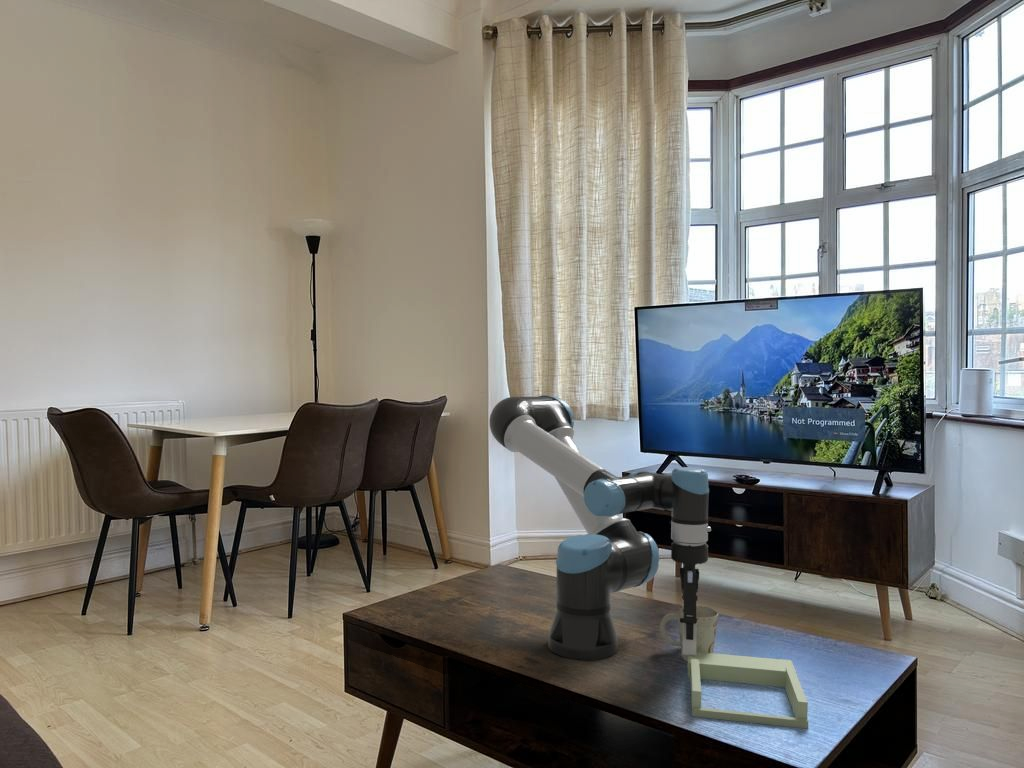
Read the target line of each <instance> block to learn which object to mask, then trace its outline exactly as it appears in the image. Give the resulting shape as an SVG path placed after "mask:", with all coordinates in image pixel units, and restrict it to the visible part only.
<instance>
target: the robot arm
mask: <svg viewBox="0 0 1024 768" xmlns="http://www.w3.org/2000/svg"><path fill="white" fill-rule="evenodd" d="M573 419H574V413H573V411H572V408H571V407H570V405H569V404H568V403H567V402H566V401H565V400H564V399H562V398H561V397H557V396H551V395H547V394H546V395H539V396H509V397H505V398H504V399H502V400H500V401H499V402H497V404H496V405H495V406H494V407H493V408H492V411H491V413H490V416H489V429H490V432H491V434H492V436H493V438H494V439H495V441H497V443H498V444H500V445H501V446H502V447H504V448H505V449H507V450H508V451H510V452H511V453H520V454H521V455H523V456H524V457H526V458H527V459H528V460H530V461H532V462H533V463H534V464H535V465H537V466H539V467H540V468H541V469H543V471H546V472H547V473H549V474H550V475H551V476H553V477H554V478H555V480H556V482H557V483H558V485H559V487H560V488H561V490H562V492H563V494H564V495H565V497H566V498H567V499H566V500H568V503H569V504H570V506H571V507H572V510H573V511H574V513H575V514H576V516H577V517H578V519H579V521H580V523H581V525H582V526H583V528H584V530H585V531H586V534H584V535H582V534H578V535H573V536H570V537H567V538H566V539H564V540H563V541H561V542H560V543H559V545H558V546H557V554H556V555H557V556H556V561H555V564H556V565H555V566H556V610H555V614H554V617H553V620H552V623H551V626H550V629H549V632H548V635H547V648H548V649H549V651H551V652H553V653H554V654H556V655H558V656H561V657H563V658H568V659H572V660H586V661H591V660H600V659H606V658H608V657H611V656H613V655H615V654H616V653H618V651H619V638H618V633H617V631H616V626H615V624H614V621H613V620H614V619H613V618H612V617H613V616H612V614H611V599H612V598H611V594H614V593H616V592H617V593H618V592H620V591H623V590H628V589H630V588H637V587H640V586H642V585H643V584H647V583H648V582H651V580H653V579H654V577H655V576H656V574H657V572H658V570H659V562H660V550H659V548H658V544H657V543H656V541H655V540H654V538H653V537H652V536H651V535H650V534H648V533H645V532H643V531H640V530H639V531H637V530H636V528H635V526H634V525H633V523H632V522H631V520H630V519H628V518H624V517H622V516H620V514H626V513H627V514H628V513H631V512H638V511H644V510H648V509H658V510H665V511H668V512H669V511H670V512H671V520H670V523H671V524H670V525H671V526H670V527H671V528H670V530H671V531H670V539H671V540H672V542H671V543H670V544H671V545H670V546H671V547H670V548H671V549H670V551H671V552H670V554H671V555H670V556H671V557H670V558H671V560H673V561H674V562H676V563H678V564H683V565H682V567H679V579H680V591H681V593H682V596H681V598H682V600H681V603H682V604H681V606H684V617H683V618H680V623H683V648H682V651H681V655H682V654H686V655H696V636H697V618H696V605H697V602H698V601H699V600H698V599H699V598H698V595H697V593H698V592H699V581H700V569H699V568H696V565H698V564H699V565H703V564H705V563H707V562H708V560H709V545H708V544H707V542H708V541H709V533H708V532H711V531H712V528H711V526H709V495H710V494H709V493H710V488H709V474H708V471H706V470H705V469H703V468H701V467H690V466H689V467H688V466H681V467H675V468H673V469H672V471H671V475H670V474H669V475H667V474H663V473H662V474H661V473H653V472H649V471H633V472H630V473H629V474H628V475H626V476H616V475H614V474H613V473H611V472H609V471H608V470H606V469H605V468H603V467H602V466H600V465H598V464H597V463H595V462H594V461H592V459H590V458H588V457H586V456H584V455H583V454H582V453H581V451H580V450H579V448H578V447H577V445H576V443H575V442H574V440H573V439H574V434H575V430H574V427H575V426H574V424H575V423H574V421H573ZM687 615H691V616H693V617H690V616H687Z"/></svg>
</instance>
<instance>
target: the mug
mask: <svg viewBox="0 0 1024 768" xmlns="http://www.w3.org/2000/svg"><path fill="white" fill-rule="evenodd" d="M676 612H677V613H667V614H665V615H664V616H663V617H662V618H661V620H660V622H659V631H660V634H661V636H662V638H663V639H664V640H665V641H666V642H667V643H668V644H670V645H671V646H674V647H675V646H676V647H680V650H681V651H680V652H682V648H683V623H680V618H683V617H684V606H682V605H681V606H680V607H678V608H677V609H676ZM687 616H690V617H693V616H691V615H687ZM696 618H697V636H696V652H703V653H714V648H715V643H716V635H717V627H718V623H719V612H718V610H716V609H715V608H712V607H709V606H705V605H700V604H696ZM671 620H672V621H677V623H678V632H679V641H675V640H673V639H672V638H670V636H669V635H668V632H666V631H667V630H666V626H667V624H668V622H669V621H671ZM681 657H682V659H683V660H684V661H685V662H687V663H688V655H686V654H682V653H681Z"/></svg>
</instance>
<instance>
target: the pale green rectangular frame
mask: <svg viewBox="0 0 1024 768" xmlns="http://www.w3.org/2000/svg"><path fill="white" fill-rule="evenodd" d="M687 678H688V679H690V692H691V695H690V696H691V717H699V718H707V719H715V720H716V719H717V720H725V721H726V720H727V721H735V722H744V723H751V724H752V723H755V724H762V725H772V726H781V727H792V728H800V729H809V719H808V713H809V712H808V709H809V708H808V704H809V702H808V700H807V697H806V694H805V692H804V690H803V687H802V684H801V682H800V680H799V676H798V675H797V671H796V668H795V666H794V664H793V661H792V659H791V660H790V659H780V658H769V657H759V656H747V655H746V656H744V655H736V654H735V655H734V654H724V653H723V654H722V653H714V652H713V653H703V652H696V655H688V662H687ZM701 680H707V681H719V682H720V681H721V682H729V683H740V684H749V685H750V684H751V685H762V686H771V687H773V686H774V687H781V688H782V687H783V688H784V689H785V691H786V694H787V697H788V700H789V703H790V706H791V709H792V712H793V715H794V717H792V716H782V715H773V714H764V713H758V712H757V713H756V712H755V713H754V712H748V711H747V712H746V711H736V710H735V711H734V710H726V709H716V708H706V707H702V684H701Z"/></svg>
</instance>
